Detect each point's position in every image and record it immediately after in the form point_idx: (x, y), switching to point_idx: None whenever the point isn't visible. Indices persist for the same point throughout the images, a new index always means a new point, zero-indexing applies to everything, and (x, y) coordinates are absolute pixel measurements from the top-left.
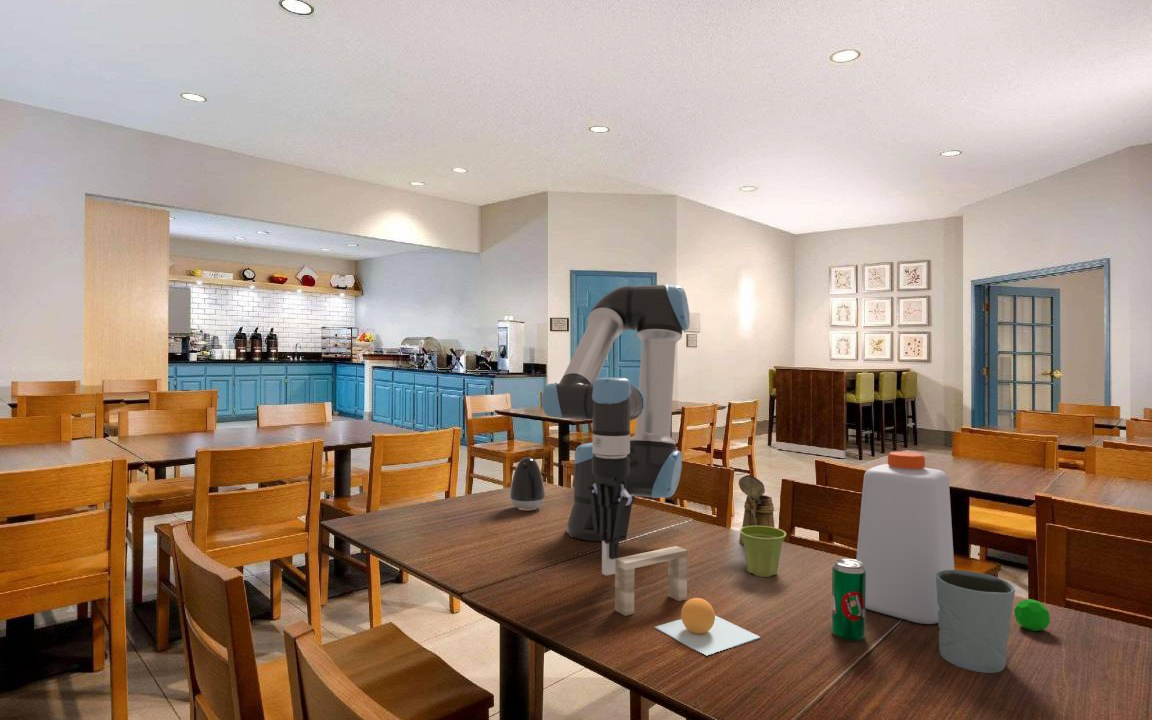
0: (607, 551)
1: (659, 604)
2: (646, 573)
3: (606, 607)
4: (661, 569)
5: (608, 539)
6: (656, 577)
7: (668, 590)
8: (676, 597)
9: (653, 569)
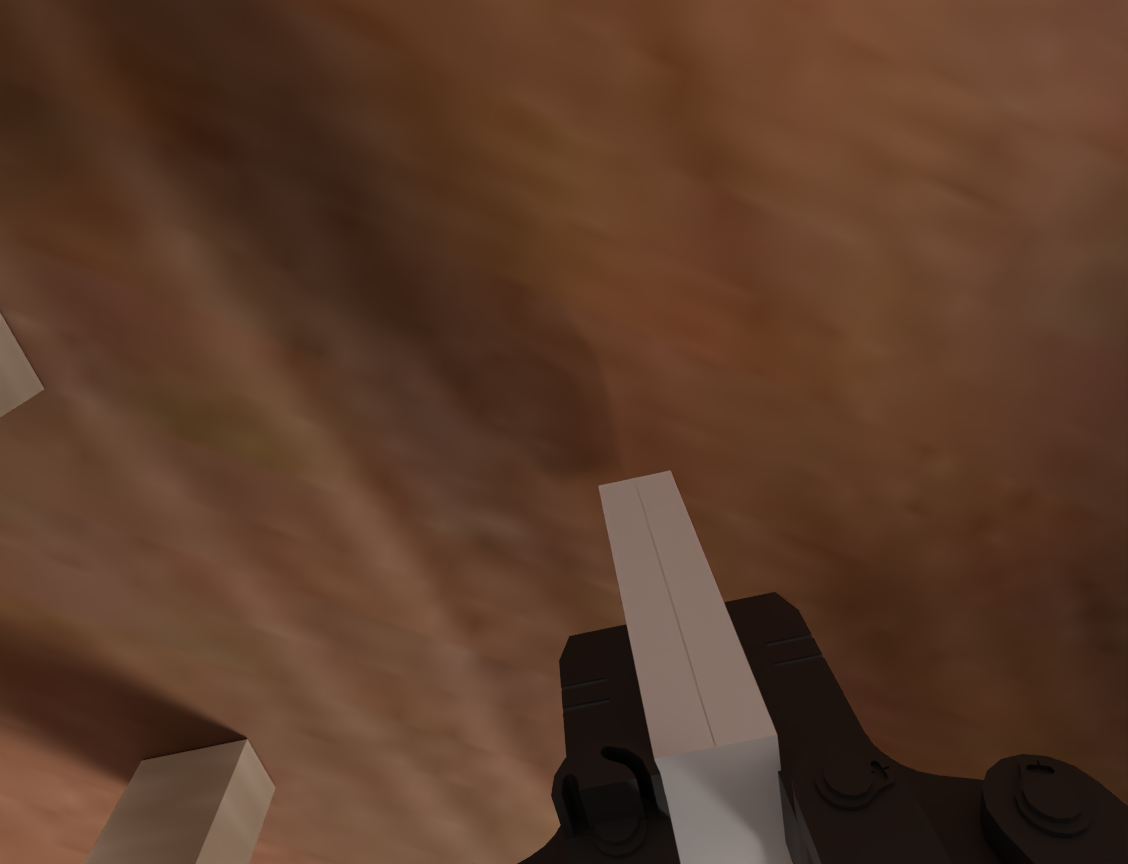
0: (637, 666)
1: (101, 645)
2: None
3: (68, 249)
4: None
5: (612, 833)
6: None
7: (226, 775)
8: (157, 772)
9: None
